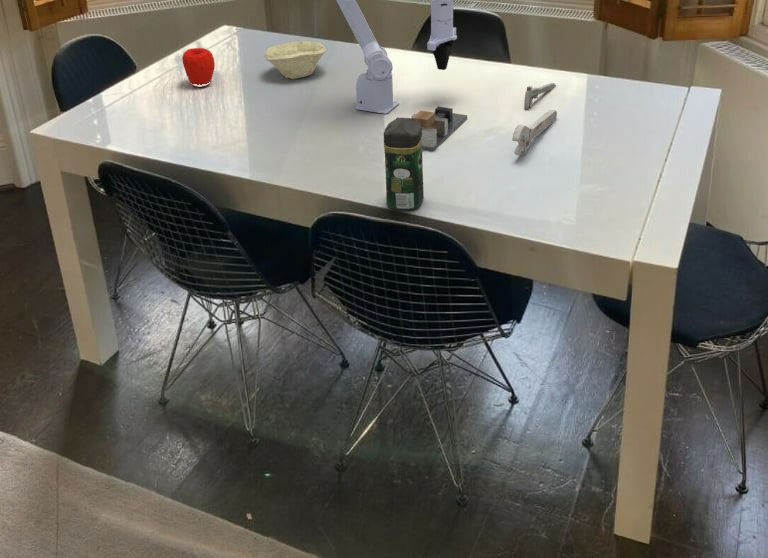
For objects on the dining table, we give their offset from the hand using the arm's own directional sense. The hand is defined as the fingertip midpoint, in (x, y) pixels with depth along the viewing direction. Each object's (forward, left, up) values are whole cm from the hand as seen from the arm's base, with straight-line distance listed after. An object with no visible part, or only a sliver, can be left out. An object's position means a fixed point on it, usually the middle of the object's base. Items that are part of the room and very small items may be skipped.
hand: (442, 68), depth 248 cm
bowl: (-49, +5, -10) cm, 50 cm away
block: (+6, -26, -8) cm, 28 cm away
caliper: (+24, +13, -10) cm, 29 cm away
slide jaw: (+6, -18, -8) cm, 21 cm away
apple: (-71, -13, -10) cm, 73 cm away
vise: (+6, -20, -9) cm, 23 cm away
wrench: (+32, -15, -10) cm, 36 cm away
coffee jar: (+16, -58, -10) cm, 61 cm away
